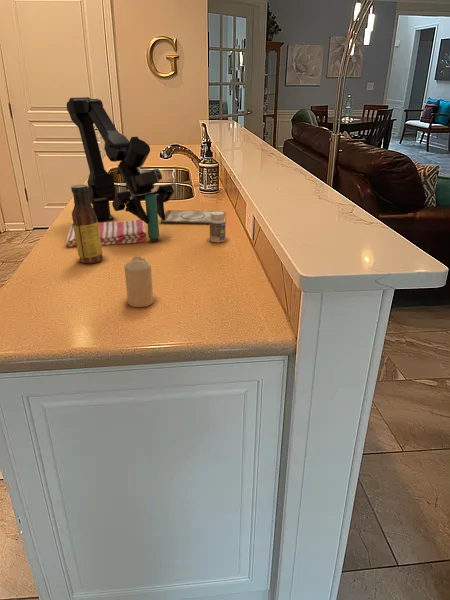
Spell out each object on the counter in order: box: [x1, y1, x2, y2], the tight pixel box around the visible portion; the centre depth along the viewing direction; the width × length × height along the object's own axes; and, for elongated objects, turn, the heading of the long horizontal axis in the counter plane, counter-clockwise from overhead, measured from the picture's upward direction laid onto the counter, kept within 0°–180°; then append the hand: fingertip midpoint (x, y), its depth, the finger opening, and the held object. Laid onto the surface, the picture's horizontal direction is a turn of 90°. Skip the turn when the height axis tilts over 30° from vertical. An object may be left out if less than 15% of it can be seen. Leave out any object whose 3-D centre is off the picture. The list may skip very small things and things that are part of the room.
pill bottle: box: [209, 210, 227, 243], centre depth 140 cm, size 5×5×8 cm
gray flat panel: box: [160, 209, 224, 225], centre depth 164 cm, size 20×15×1 cm
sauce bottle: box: [70, 183, 103, 264], centre depth 122 cm, size 6×6×20 cm
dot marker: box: [144, 194, 160, 243], centre depth 139 cm, size 3×3×14 cm
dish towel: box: [65, 218, 148, 248], centre depth 145 cm, size 17×23×4 cm
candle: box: [124, 256, 154, 308], centre depth 101 cm, size 6×6×10 cm
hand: (156, 221), depth 137 cm, fingers open, 5 cm apart
